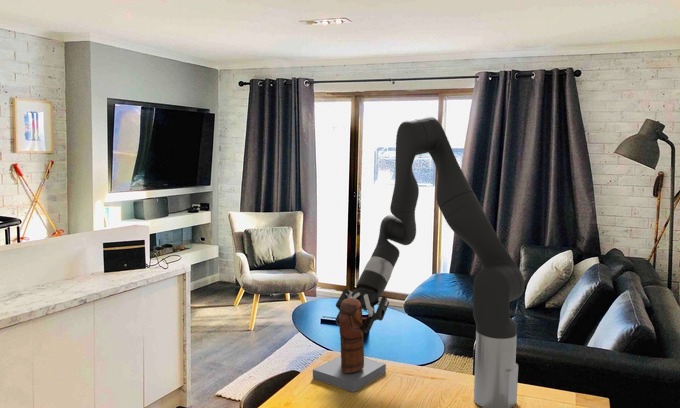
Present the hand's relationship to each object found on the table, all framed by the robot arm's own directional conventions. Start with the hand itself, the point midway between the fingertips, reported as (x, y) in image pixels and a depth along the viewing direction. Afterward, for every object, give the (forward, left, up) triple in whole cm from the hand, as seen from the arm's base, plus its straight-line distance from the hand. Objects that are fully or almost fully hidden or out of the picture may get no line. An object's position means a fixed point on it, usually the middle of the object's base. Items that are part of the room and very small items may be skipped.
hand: (350, 328), depth 145 cm
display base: (0, 0, -13) cm, 13 cm away
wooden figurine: (-1, 0, -10) cm, 10 cm away
